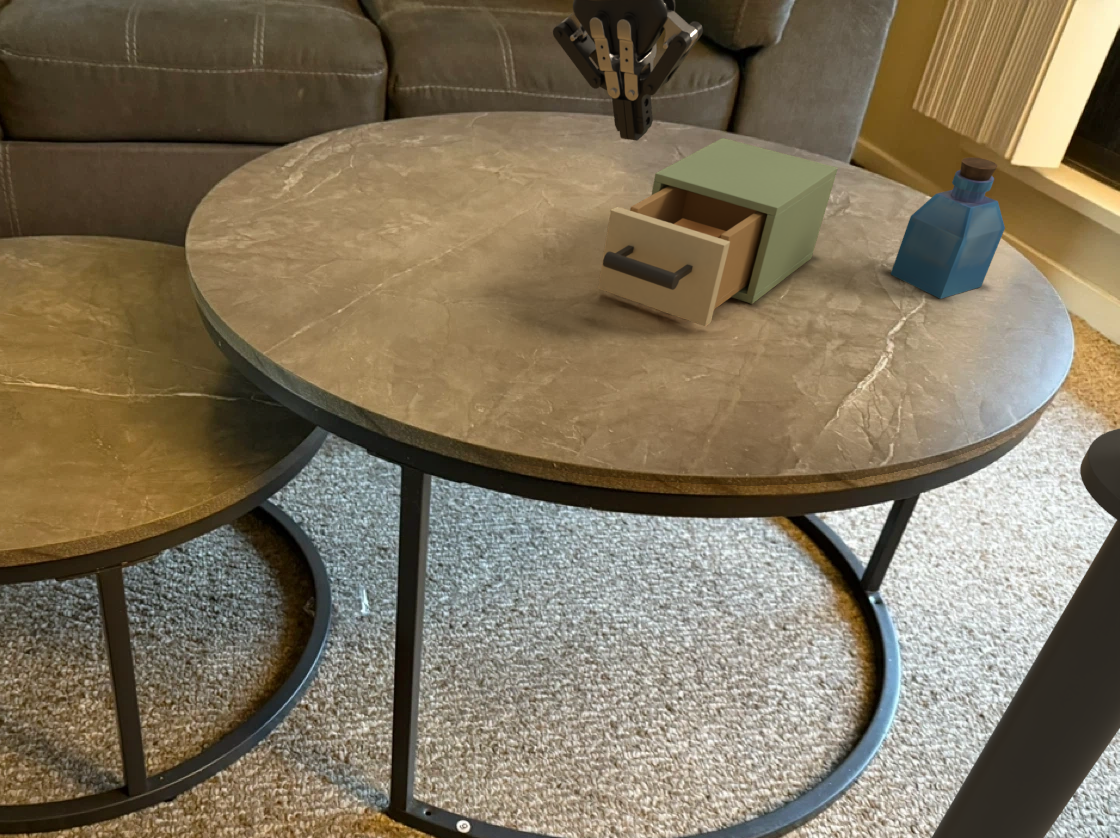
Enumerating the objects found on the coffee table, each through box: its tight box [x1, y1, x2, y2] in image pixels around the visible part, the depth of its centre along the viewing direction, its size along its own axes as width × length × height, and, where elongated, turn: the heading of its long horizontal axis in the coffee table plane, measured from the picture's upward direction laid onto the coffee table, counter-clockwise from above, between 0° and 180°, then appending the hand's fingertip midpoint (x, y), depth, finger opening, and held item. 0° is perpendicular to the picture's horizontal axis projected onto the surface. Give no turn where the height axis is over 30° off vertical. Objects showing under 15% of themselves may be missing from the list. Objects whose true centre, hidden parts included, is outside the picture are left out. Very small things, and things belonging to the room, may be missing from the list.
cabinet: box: [651, 137, 839, 305], centre depth 107 cm, size 15×13×10 cm
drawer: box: [597, 186, 768, 327], centre depth 100 cm, size 18×11×8 cm, turn 141°
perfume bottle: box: [890, 157, 1006, 300], centre depth 104 cm, size 6×6×12 cm
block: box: [674, 218, 726, 238], centre depth 101 cm, size 5×5×5 cm
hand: (635, 135), depth 90 cm, fingers closed
